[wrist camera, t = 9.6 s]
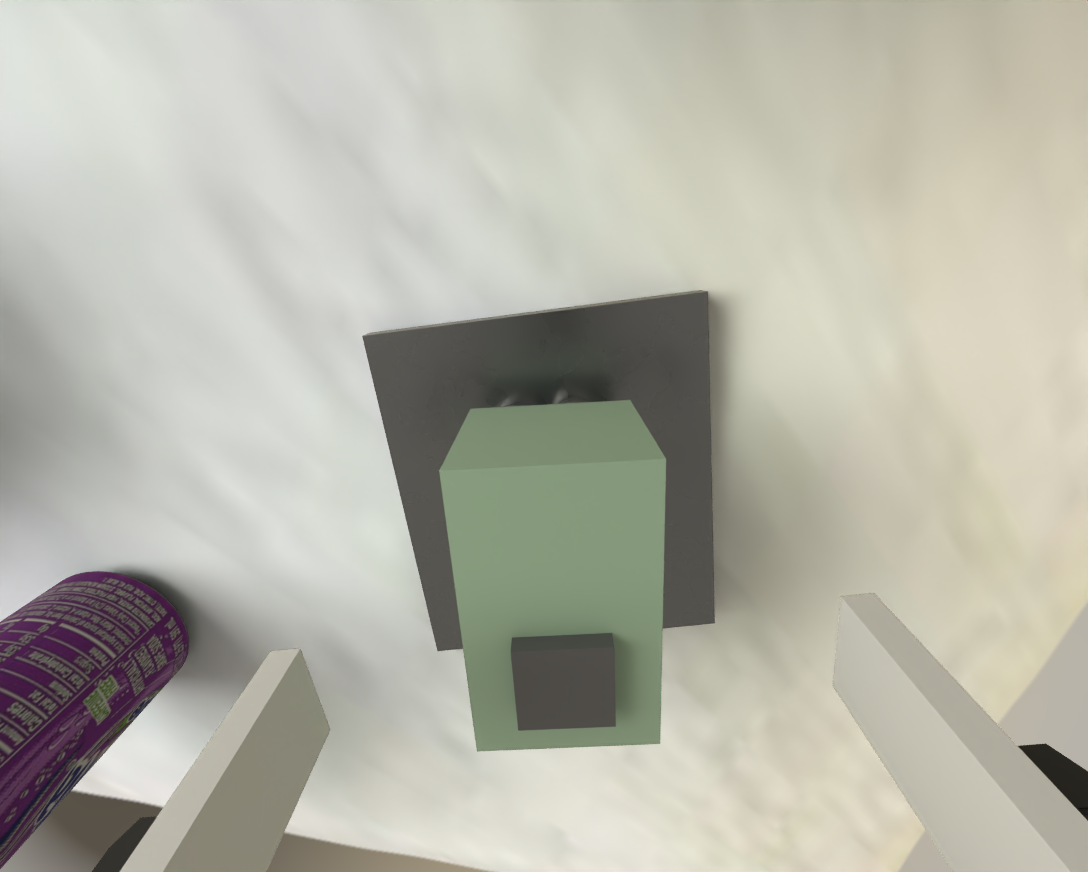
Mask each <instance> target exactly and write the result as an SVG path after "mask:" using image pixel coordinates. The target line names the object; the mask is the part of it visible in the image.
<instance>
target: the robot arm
mask: <svg viewBox="0 0 1088 872" xmlns="http://www.w3.org/2000/svg"><path fill="white" fill-rule="evenodd" d="M833 687H834V689H835V690H836V692H837V693H838V695H839V696H840V698H841V699H842V701H843V702H844V704H845V706H846V707H847V709H848V710H849V712H850V713H851V715H852V716H853V718H854V720H855V721H856V723H857V724H858V726H859V727H860V729H861V730H862V732H863V733H864V735H865V737H866V738H867V740H868V741H869V743H870V744H871V746H872V747H873V749H874V750H875V752H876V754H877V755H878V757H879V758H880V760H881V761H882V763H883V764H884V766H885V768H886V769H887V771H888V772H889V774H890V775H891V777H892V778H893V780H894V781H895V783H896V785H897V786H898V788H899V789H900V791H901V792H902V794H903V795H904V797H905V798H906V800H907V802H908V803H909V805H910V806H911V808H912V809H913V811H914V812H915V814H916V816H917V817H918V819H919V820H920V822H921V823H922V825H923V826H924V828H925V829H926V831H927V833H928V834H929V836H930V837H931V839H932V840H933V842H934V843H935V845H936V846H937V848H938V850H939V851H940V853H941V854H942V856H943V857H944V859H945V860H946V862H947V863H948V865H949V867H950V868H951V870H952V871H953V872H1088V771H1086V770H1085V769H1083V768H1082V767H1080V766H1079V765H1077V764H1076V763H1074V762H1073V761H1071V760H1070V759H1068V758H1067V757H1065V756H1064V755H1062V754H1061V753H1059V752H1058V751H1056V750H1055V749H1053V748H1052V747H1050V746H1049V745H1047V744H1036V745H1024V746H1017V745H1016V744H1015V743H1014V742H1013V741H1012V740H1011V738H1010V737H1009V736H1008V735H1007V734H1006V733H1005V732H1004V731H1003V730H1002V729H1001V728H1000V727H999V726H998V725H997V723H996V722H995V721H994V720H993V719H992V718H991V717H990V716H989V715H988V714H987V713H986V712H985V711H984V710H983V709H982V707H981V706H980V705H979V704H978V703H977V702H976V701H975V700H974V699H973V698H972V697H971V696H970V695H969V694H968V693H967V691H966V690H965V689H964V688H963V687H962V686H961V685H960V684H959V683H958V682H957V681H956V680H955V679H954V678H953V677H952V675H951V674H950V673H949V672H948V671H947V670H946V669H945V668H944V667H943V666H942V665H941V664H940V663H939V662H938V661H937V659H936V658H935V657H934V656H933V655H932V654H931V653H930V652H929V651H928V650H927V649H926V648H925V647H924V646H923V645H922V643H921V642H920V641H919V640H918V639H917V638H916V637H915V636H914V635H913V634H912V633H911V632H910V631H909V630H908V629H907V627H906V626H905V625H904V624H903V623H902V622H901V621H900V620H899V619H898V618H897V617H896V616H895V615H894V614H893V613H892V611H891V610H890V609H889V608H888V607H887V606H886V605H885V604H884V603H883V602H882V601H881V600H880V599H879V598H878V597H877V595H876V594H875V593H869V594H859V595H849V596H841V599H840V610H839V621H838V632H837V643H836V653H835V664H834V675H833ZM329 731H330V727H329V725H328V722H327V719H326V717H325V714H324V711H323V708H322V706H321V703H320V700H319V698H318V695H317V692H316V689H315V687H314V684H313V681H312V679H311V676H310V673H309V670H308V668H307V665H306V662H305V660H304V657H303V654H302V651H301V649H300V648H298V649H287V650H277V651H270V653H269V654H268V656H267V657H266V659H265V660H264V661H263V663H262V664H261V666H260V667H259V669H258V670H257V672H256V673H255V675H254V676H253V678H252V679H251V680H250V682H249V683H248V685H247V686H246V688H245V689H244V691H243V692H242V694H241V695H240V697H239V698H238V699H237V701H236V702H235V704H234V705H233V707H232V708H231V710H230V711H229V713H228V714H227V715H226V717H225V718H224V720H223V721H222V723H221V724H220V726H219V727H218V729H217V730H216V732H215V733H214V734H213V736H212V737H211V739H210V740H209V742H208V743H207V745H206V746H205V748H204V749H203V751H202V752H201V753H200V755H199V756H198V758H197V759H196V761H195V762H194V764H193V765H192V767H191V768H190V770H189V771H188V772H187V774H186V775H185V777H184V778H183V780H182V781H181V783H180V784H179V786H178V787H177V789H176V790H175V791H174V793H173V794H172V796H171V797H170V799H169V800H168V802H167V803H166V805H165V806H164V808H163V809H162V811H161V812H160V813H159V815H158V816H157V817H145V818H140V819H139V820H138V821H137V822H136V823H135V824H134V825H133V826H132V827H131V828H130V829H129V830H127V831H126V832H125V833H124V834H123V835H122V836H121V837H120V838H119V839H118V840H117V841H116V842H115V843H114V844H113V845H112V846H111V847H110V848H109V849H108V850H107V852H106V853H105V854H104V856H103V857H102V859H101V860H100V861H99V863H98V864H97V865H96V867H95V868H94V870H93V871H92V872H266V871H267V869H268V866H269V864H270V862H271V860H272V858H273V856H274V853H275V851H276V849H277V846H278V845H279V842H280V840H281V838H282V836H283V833H284V831H285V829H286V827H287V825H288V822H289V820H290V818H291V816H292V813H293V811H294V809H295V807H296V805H297V802H298V800H299V798H300V796H301V793H302V791H303V789H304V787H305V785H306V782H307V780H308V778H309V776H310V773H311V771H312V769H313V767H314V765H315V762H316V760H317V758H318V756H319V753H320V751H321V749H322V747H323V745H324V742H325V740H326V738H327V736H328V734H329Z"/></svg>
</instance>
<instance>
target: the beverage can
mask: <svg viewBox="0 0 1088 872" xmlns="http://www.w3.org/2000/svg"><path fill="white" fill-rule="evenodd" d="M188 648H189V639H188V633H187V630H186V627H185V624H184V622H183V620H182V618H181V616H180V615H179V613H178V612H177V610H176V609H175V608H174V607H173V605H172V604H171V603H170V602H169V601H168V600H167V599H166V598H165V597H163V596H162V595H161V594H160V593H159V592H157V591H156V590H154V589H153V588H151V587H150V586H148V585H146V584H144V583H142V582H140V581H138V580H136V579H134V578H131V577H128V576H125V575H121V574H117V573H111V572H100V571H97V572H85V573H80V574H76V575H73V576H71V577H68V578H66V579H64V580H63V581H61V582H60V583H58V584H57V585H55V586H54V587H52V588H51V589H49V590H48V591H46V592H45V593H43V594H42V595H40V596H39V597H37V598H36V599H34V600H33V601H31V602H30V603H28V604H27V605H25V606H24V607H22V608H21V609H19V610H18V611H16V612H15V613H13V614H12V615H10V616H9V617H7V618H6V619H4V620H3V621H1V622H0V869H1V868H2V867H3V866H4V864H5V863H6V862H7V861H8V860H9V859H10V858H11V856H12V855H13V854H14V853H15V852H16V851H17V850H18V849H19V848H20V846H21V845H22V844H23V843H24V842H25V841H26V840H27V839H28V838H29V837H30V835H31V834H32V833H33V832H34V831H35V830H36V829H37V827H38V826H39V825H40V824H41V823H42V822H43V821H44V820H45V819H46V818H47V816H48V815H49V814H50V813H51V812H52V811H53V810H54V809H55V808H56V806H57V805H58V804H59V803H60V802H61V801H62V800H63V799H64V798H65V796H66V795H67V794H68V793H69V792H70V791H71V790H72V789H73V787H74V786H75V785H76V784H77V783H78V782H79V781H80V780H81V779H82V777H83V776H84V775H85V774H86V773H87V772H88V771H89V770H90V769H91V767H92V766H93V765H94V764H95V763H96V762H97V761H98V760H99V759H100V757H101V756H102V755H103V754H104V753H105V752H106V751H107V750H108V748H109V747H110V746H111V745H112V744H113V743H114V742H115V741H116V740H117V738H118V737H119V736H120V735H121V734H122V733H123V732H124V731H125V730H126V728H127V727H128V726H129V725H130V724H131V723H132V722H133V721H134V720H135V718H136V717H137V716H138V715H139V714H140V713H141V712H142V711H143V709H144V708H145V707H146V706H147V705H148V704H149V703H150V702H151V701H152V699H153V698H154V697H155V696H156V695H157V694H158V693H159V692H160V691H161V689H162V688H163V687H164V686H165V685H166V684H167V683H168V682H169V681H170V679H171V678H172V677H173V676H174V675H175V674H176V673H177V672H178V670H179V669H180V668H181V667H182V665H183V664H184V662H185V660H186V657H187V654H188Z"/></svg>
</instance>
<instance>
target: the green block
mask: <svg viewBox="0 0 1088 872" xmlns="http://www.w3.org/2000/svg"><path fill="white" fill-rule="evenodd" d="M439 473H440V480H441V488H442V495H443V503H444V510H445V517H446V525H447V532H448V540H449V547H450V555H451V562H452V569H453V577H454V584H455V592H456V599H457V606H458V614H459V621H460V629H461V636H462V644H463V651H464V658H465V666H466V673H467V681H468V688H469V695H470V703H471V710H472V718H473V725H474V733H475V740H476V747H477V751H497V750H521V749H545V748H569V747H594V746H618V745H642V744H660V724H661V677H662V629H663V582H664V534H665V487H666V458H665V456H664V455H663V453H662V451H661V450H660V448H659V446H658V445H657V443H656V441H655V440H654V438H653V437H652V435H651V433H650V432H649V430H648V428H647V427H646V425H645V423H644V422H643V420H642V418H641V417H640V415H639V414H638V412H637V410H636V409H635V407H634V405H633V404H632V402H631V400H620V401H602V402H584V403H566V404H548V405H530V406H512V407H494V408H476V409H470V411H469V413H468V415H467V417H466V419H465V421H464V423H463V425H462V427H461V429H460V431H459V433H458V435H457V437H456V439H455V441H454V443H453V445H452V446H451V448H450V450H449V452H448V454H447V456H446V458H445V460H444V462H443V464H442V466H441V468H440V470H439Z"/></svg>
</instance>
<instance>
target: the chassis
mask: <svg viewBox="0 0 1088 872" xmlns="http://www.w3.org/2000/svg"><path fill="white" fill-rule="evenodd" d="M362 337H363V341H364V345H365V349H366V353H367V357H368V362H369V366H370V370H371V374H372V378H373V383H374V387H375V391H376V395H377V399H378V403H379V408H380V412H381V416H382V420H383V424H384V429H385V433H386V437H387V441H388V445H389V450H390V454H391V458H392V462H393V466H394V470H395V475H396V479H397V483H398V487H399V491H400V496H401V500H402V504H403V508H404V512H405V517H406V521H407V525H408V529H409V533H410V537H411V542H412V546H413V550H414V554H415V558H416V563H417V567H418V571H419V575H420V579H421V584H422V588H423V592H424V596H425V600H426V604H427V609H428V613H429V617H430V621H431V625H432V630H433V634H434V638H435V642H436V646H437V650H438V651H443V650H453V649H463V644H462V636H461V629H460V621H459V614H458V606H457V599H456V592H455V584H454V577H453V569H452V562H451V555H450V547H449V540H448V532H447V525H446V517H445V510H444V503H443V495H442V488H441V480H440V473H439V470H440V468H441V466H442V464H443V462H444V460H445V458H446V456H447V454H448V452H449V450H450V448H451V446H452V445H453V443H454V441H455V439H456V437H457V435H458V433H459V431H460V429H461V427H462V425H463V423H464V421H465V419H466V417H467V415H468V413H469V411H470V409H476V408H494V407H512V406H530V405H548V404H566V403H584V402H602V401H620V400H631V402H632V404H633V405H634V407H635V409H636V410H637V412H638V414H639V415H640V417H641V418H642V420H643V422H644V423H645V425H646V427H647V428H648V430H649V432H650V433H651V435H652V437H653V438H654V440H655V441H656V443H657V445H658V446H659V448H660V450H661V451H662V453H663V455H664V456H665V458H666V487H665V534H664V582H663V628H671V627H681V626H691V625H701V624H711V623H715V616H714V568H713V521H712V473H711V426H710V378H709V330H708V292H707V291H702V290H699V291H691V292H683V293H675V294H668V295H660V296H652V297H644V298H637V299H629V300H621V301H613V302H606V303H598V304H590V305H582V306H574V307H567V308H559V309H551V310H543V311H536V312H528V313H520V314H512V315H505V316H497V317H489V318H481V319H474V320H466V321H458V322H450V323H442V324H435V325H427V326H419V327H411V328H404V329H396V330H388V331H380V332H373V333H369V334H366V335H364V336H362Z"/></svg>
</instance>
